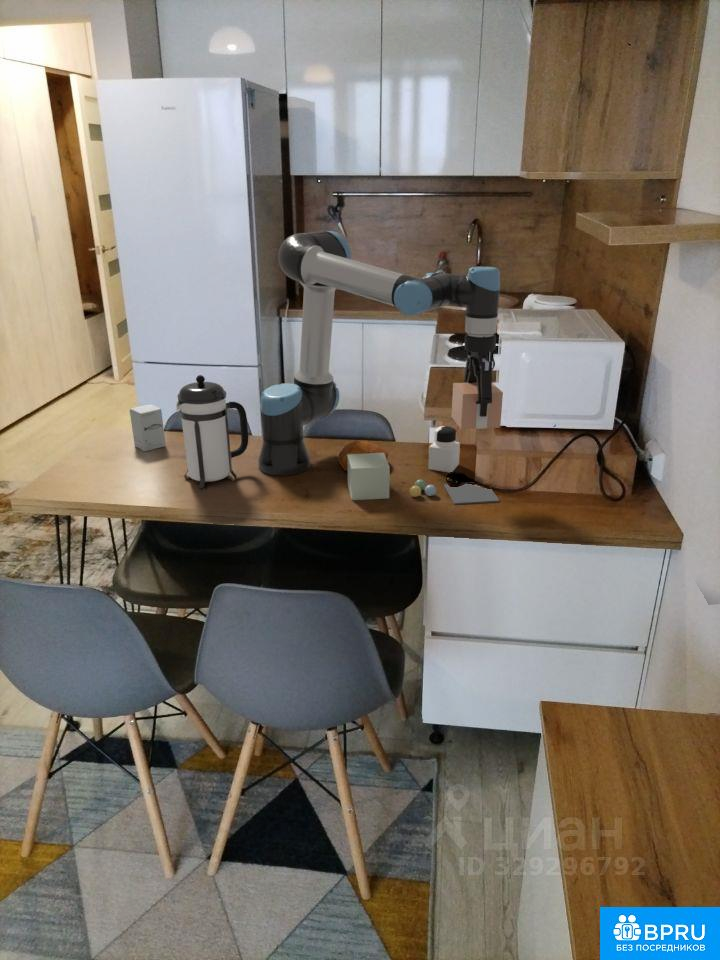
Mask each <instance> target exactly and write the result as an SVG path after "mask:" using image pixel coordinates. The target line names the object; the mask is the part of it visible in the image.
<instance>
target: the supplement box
mask: <svg viewBox="0 0 720 960" xmlns="http://www.w3.org/2000/svg"><path fill="white" fill-rule="evenodd" d="M162 411H163V410H162V408H160V407H158V406H156V405H153V404H151V403H150V404H146V405H141V406H135V407H133V408H129V416H130V423H131V424H130V425H131V429H132V436H133V443H134V447H135V446H136V447H135V448H137V447H138V448H137V449H139V448H140V449H139V450H141V449H142V450H141V451H143V452H144V451H145V453H146V452H149V451H151V450H155V449H161V448H165V447H166V443H167V442H166V437H165V429H164V420H163V413H162Z"/></svg>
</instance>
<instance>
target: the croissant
mask: <svg viewBox="0 0 720 960" xmlns="http://www.w3.org/2000/svg"><path fill="white" fill-rule="evenodd" d="M367 453H384V454H385V456H386V459H387V461H388V460H389V459H388V456H389V454H388V452H387V450H385V448H383V447H381V445H378V444H376V443H375V444H374V443H373V442H371V441H370V440H359V439H358V440H354V441H352V442H349V443H348V444H346V445H345V446H344V447H343V448H342V450H340V452H339V454H338V462H339V464H340V467H341V468H342V469H343V470H344V471H345V472H348V464H347V454H367ZM388 462H389V461H388Z"/></svg>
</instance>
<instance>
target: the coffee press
mask: <svg viewBox="0 0 720 960" xmlns="http://www.w3.org/2000/svg"><path fill="white" fill-rule="evenodd" d="M195 378H196V379H195V380H196V382H192V383H188V384H186V385H184V386H183V387H181V388H180V389H179V392H178V394H177V396H176V397H177V401H176V405H175V407H174V408H175V410H176V411H179V416H180V418H181V425H182V426H181V427H182V433H183V441H184V448H185V449H184V451H185V458H186V459H185V460H186V466H187V469H186V472H185V474H184V476H183V477H184V479H185V480H189V479H192V480H195V481H197V482H199V486H198V487H199V490H206V488H207V484H208V482H209V483H211V482H216V481H220V480H223V479H225V478H228V479H229V480H230V481H231V482H235V481H236V479H237V478H238V476H237V475H236V473H235V472H234V471H233V466H232V465H233V464H232V462H233V461H232V459H234V458H236V457H238V456H241V455H242V454H244V453H245V451H246V450H247V449H248V444H249V430H248V418H247V412H246V410H245V407H244V406H243V405H242V404H241V403H239V402H238V401H237V402H236V401H229V402H226V398H227V392H226V390H225V389H224V387H223V386H222V385H221V384H219V383H216V382H213V381H212V382H211V381H205V380H206V377H205V376H204V375H202V374H201V375H200V374H199V375H197V377H195ZM228 409H236V411H237V412H238V414H239V426H240V439H241V442H240V445H239V447H238V448H237V449H234V450H232V451H231V443H230V432H229V430H230V429H229V423H228V422H229V421H228ZM187 474H188V475H187ZM230 474H231V475H232V476H233V477H234V478H233V477H232V476H231V475H230Z"/></svg>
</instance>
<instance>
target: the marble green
mask: <svg viewBox="0 0 720 960" xmlns="http://www.w3.org/2000/svg"><path fill="white" fill-rule="evenodd" d="M414 486H419V487H420V489H421V491H423V490H425V487H426V486H427V485H426V482H425V480H424V479H420V478H419V479H417V480H416V481H415V482H414Z"/></svg>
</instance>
